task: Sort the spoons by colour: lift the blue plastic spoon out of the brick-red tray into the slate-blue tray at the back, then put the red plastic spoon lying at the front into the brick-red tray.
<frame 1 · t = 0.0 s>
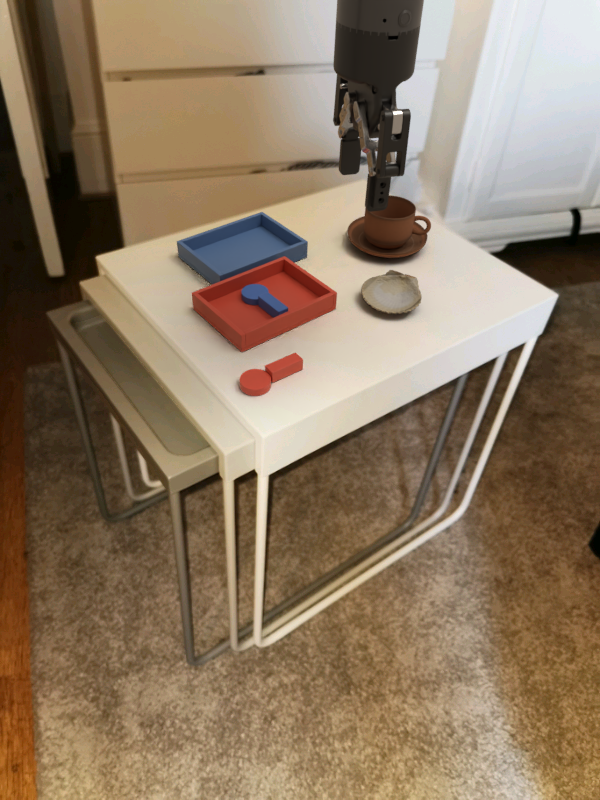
hand: (361, 190, 68), 19 cm above the table, tool pointing down, fingers open, 8 cm apart
cup and saucer: (385, 245, 97), on the table
red spoon: (271, 378, 74), on the table
seashell: (391, 303, 86), on the table
blue spoon: (264, 305, 84), point 1 cm above the table, touching red tray
red tray: (264, 309, 84), on the table
blue tray: (243, 257, 94), on the table
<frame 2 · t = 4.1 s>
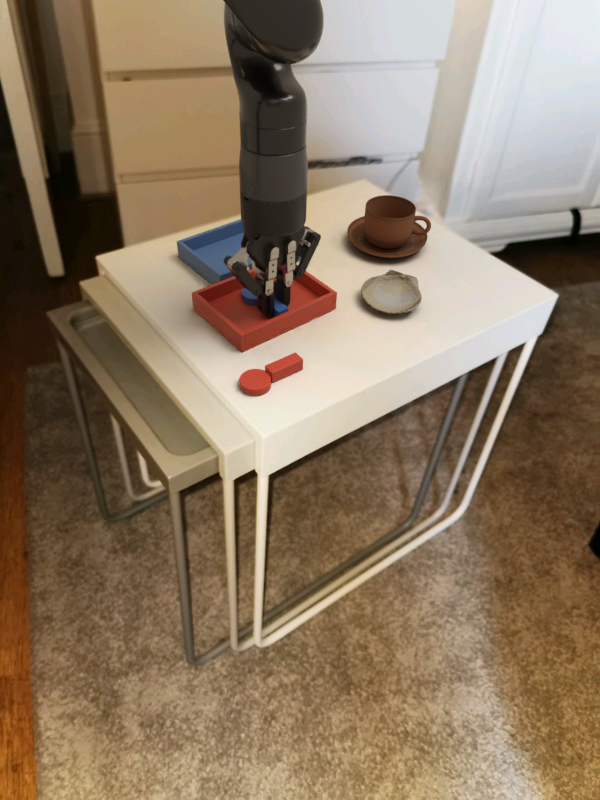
hand: (273, 311, 83), 1 cm above the table, tool pointing down, fingers closed on blue spoon, 1 cm apart
blue spoon: (264, 305, 84), point 1 cm above the table, touching gripper, red tray
everything else where it was.
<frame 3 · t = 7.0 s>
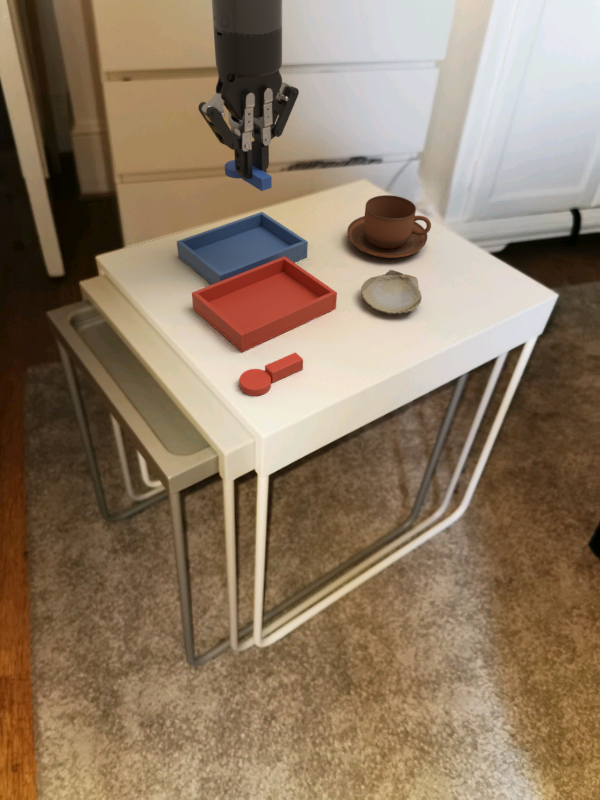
hand: (252, 174, 81), 14 cm above the table, tool pointing down, fingers closed on blue spoon, 1 cm apart
blue spoon: (248, 178, 83), point 13 cm above the table, touching gripper
everything else where it was.
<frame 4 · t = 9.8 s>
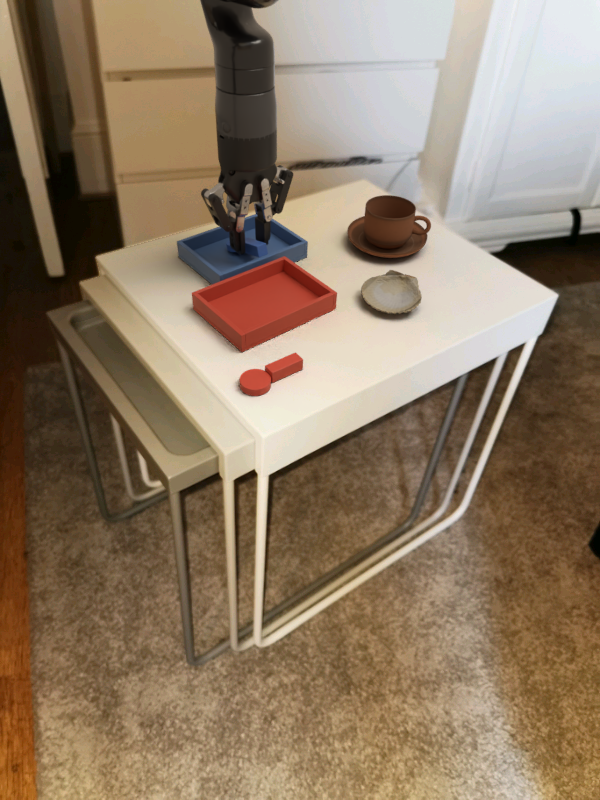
hand: (250, 247, 91), 3 cm above the table, tool pointing down, fingers open, 3 cm apart
blue spoon: (247, 250, 92), point 2 cm above the table, tilted 15°, touching blue tray
everything else where it was.
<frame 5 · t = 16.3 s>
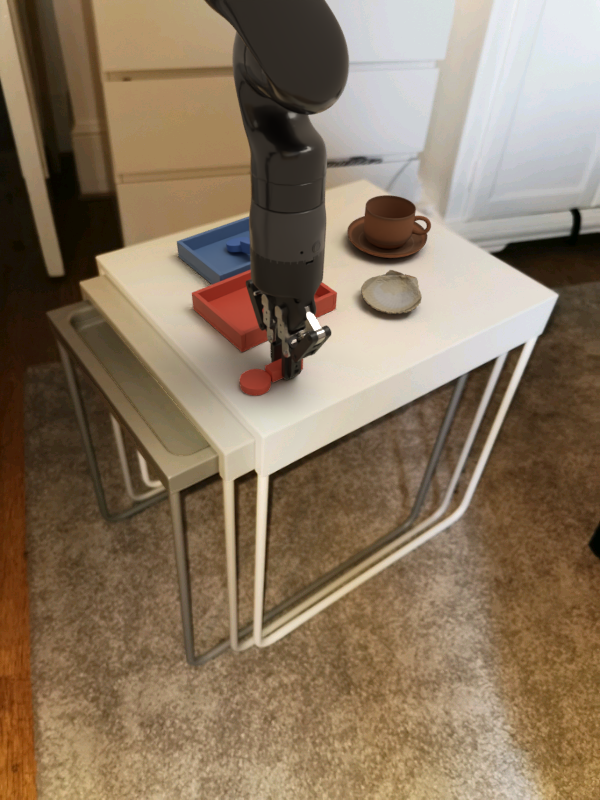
hand: (285, 370, 75), 0 cm above the table, tool pointing down, fingers closed on red spoon, 1 cm apart
red spoon: (271, 378, 74), on the table, touching gripper
everything else where it was.
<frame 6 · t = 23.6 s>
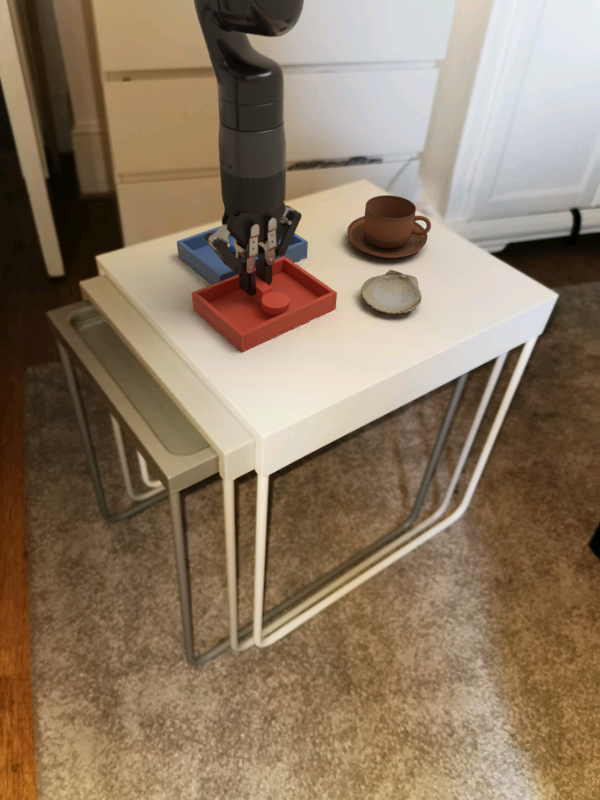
hand: (256, 289, 84), 2 cm above the table, tool pointing down, fingers closed on red spoon, 1 cm apart
red spoon: (265, 298, 83), point 2 cm above the table, touching gripper
everything else where it was.
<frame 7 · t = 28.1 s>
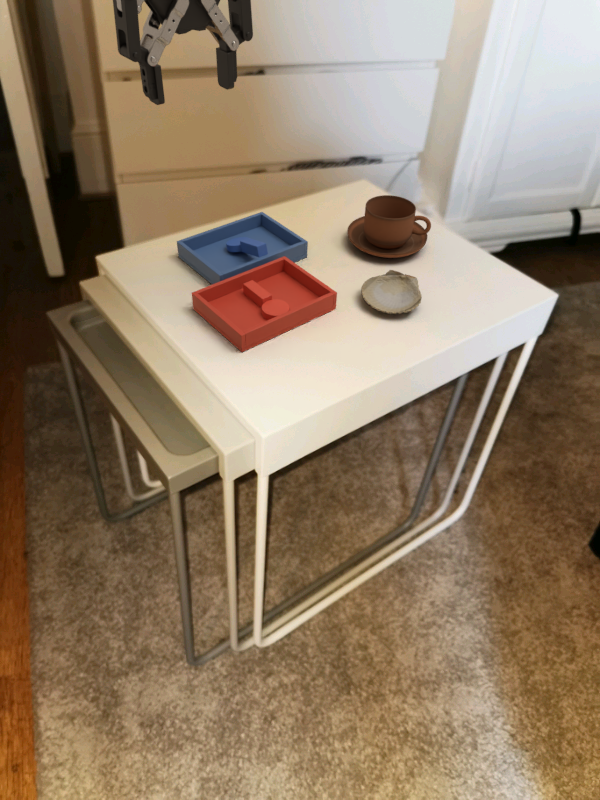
hand: (192, 94, 68), 26 cm above the table, tool pointing down, fingers open, 8 cm apart
red spoon: (265, 305, 84), point 1 cm above the table, touching red tray
everything else where it was.
at the end: blue spoon inside the target area in the blue tray (1.1 cm from its centre), point 1.6 cm above the blue tray's base; red spoon inside the target area in the red tray (0.1 cm from its centre), point 0.6 cm above the red tray's base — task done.
